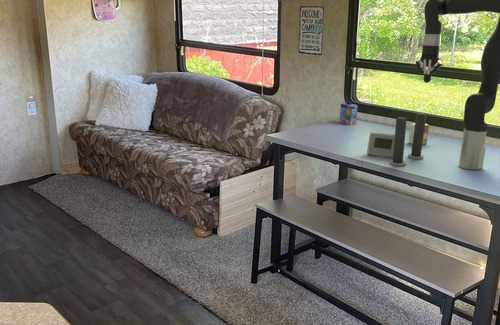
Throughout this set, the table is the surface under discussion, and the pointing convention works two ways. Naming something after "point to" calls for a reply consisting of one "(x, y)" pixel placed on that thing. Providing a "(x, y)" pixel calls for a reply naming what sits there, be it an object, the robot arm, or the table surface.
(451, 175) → the table surface
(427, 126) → the small box
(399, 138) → the post left
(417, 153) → the post right
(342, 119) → the ink cartridge box
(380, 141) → the digital clock
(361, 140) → the table surface
